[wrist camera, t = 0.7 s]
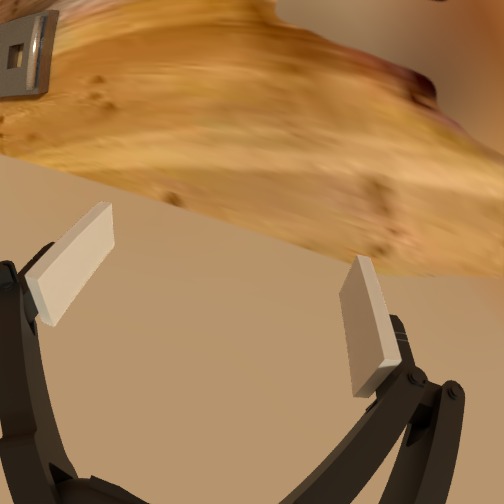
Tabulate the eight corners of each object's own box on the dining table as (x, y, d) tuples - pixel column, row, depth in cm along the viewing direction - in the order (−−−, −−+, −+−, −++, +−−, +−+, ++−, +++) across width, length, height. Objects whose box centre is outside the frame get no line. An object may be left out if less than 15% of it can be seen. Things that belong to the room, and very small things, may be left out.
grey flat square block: (7, 24, 26) (-9, 25, 23) (59, 10, 27) (42, 9, 23) (-1, 95, 34) (-16, 99, 30) (48, 91, 34) (31, 95, 31)
